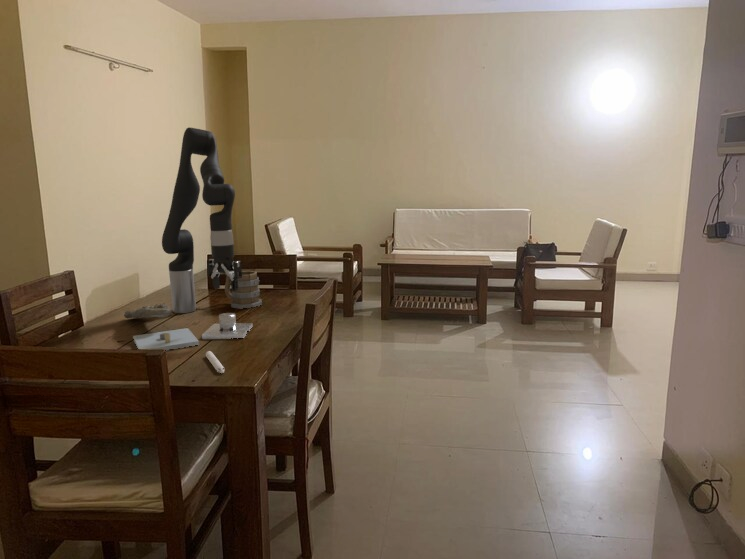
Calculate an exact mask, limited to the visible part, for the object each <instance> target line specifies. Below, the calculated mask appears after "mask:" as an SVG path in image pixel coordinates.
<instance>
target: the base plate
mask: <svg viewBox="0 0 745 559" xmlns="http://www.w3.org/2000/svg"><path fill="white" fill-rule="evenodd" d="M132 338H133V339H134V340H133V343H134V344H136V345H135V346H137V347H136V348H138V349H165V350H166V351H170V350H169V349H174V350H179V349H178V348H180V349H185V348H184V347H186V348H190V347H189V346H192V347H196V346H195V345H198V346H200V341H199V340H198V338H197V337H196V336H195V335H194V333H193V332H192V331H191V329H189V328H188V327H186V328H179V329H173V330H172V329H171V330H165V331H164V330H163V331H158V332H152V333H145V334H138V335H132ZM138 349H137V350H138ZM166 351H165V352H166Z"/></svg>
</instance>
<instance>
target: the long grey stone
mask: <svg viewBox="0 0 745 559" xmlns="http://www.w3.org/2000/svg"><path fill="white" fill-rule="evenodd" d="M171 308H172V307H170V306H169V305H168V304H167V303H166V302H164V303H159V304H157V303H155V305H144V306H142V307H140V308H137V309H135V310H126V311H125V312H124V318H126V319H132V318H133V319H135V318H137V319H139V318H140V319H144V318H145V319H146V318H148V319H150V318H153V317H154V318H161V319H164V318H167V317H169V316H171V315H172V309H171Z"/></svg>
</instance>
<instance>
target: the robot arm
mask: <svg viewBox="0 0 745 559" xmlns="http://www.w3.org/2000/svg"><path fill="white" fill-rule="evenodd" d="M216 139H217V138H216V136H215V134H214V133H213V132H212V131H209V130H206V129H200V128H195V127H189V126H188V127H187V128H185V130H184V133H183V136H182V143H181V151H180V158H179V163H178V164H179V166H178V170H177V174H176V180H175V184H174V189H173V194H172V199H171V205H170V209H169V212H168V217H167V220H166V224H165V226H164V229H163V234H162V237H161V246H162V250H163V252H164V253H166V254H168V255H174V254H175V255H176V254H177V256H176V258H174V259H173V260H172V261H170V262H169V263H168V274H169V286H170V296H171V298H170V299H171V306H172V307H171V308H172V309H171V311H172V313H174V314H186V313H192V312H195V311H196V310H197V303H196V302H197V301H196V290H195V279H194V278H195V277H194V261H195V255H194V254H195V251H194V248H195V247H194V246H195V245H194V237H193V234H192V233H191V231H190V230H188V229H181V228H182V226H183V224H184V223H185V221H186V220H187V218H188V217H189V216H190V215H191V213H193V211H194V209H195V208H196V207H197V204H198V201H199V197H200V191H201V186H200V183H199V180H198V178H197V176H196V174H195V172H194V168H193V166H192V155H198V156H202V157H203V156H206V158H205V159H204V160H202V163H201V165H200V168H199V169H200V170H199V171H200V176H201V179H202V183H203V187H202V188H203V189H202V194H201V195H202V196H201V197H202V201H203V203H205V204H206V205H208V206H223V208H222V210H220V211H217V212H212V213H211V214H210V215H209V229H210V235H209V236H210V248H211V249H210V250H211V257H212V258H209V259H207V260H206V271H207V272H206V275H207V277H209V278H210V277H211V279H212V286H213V289H214V290H218V289H220V288H221V284H220V275H221V273H226V274H227V275H228V276H229V277H230V279H231V280H232V281H231V285H230V290H231V292H232V291H237V290H238V279H240V278H242V271H243V270H242V263H241V260H236V261H234V257H235V246H234V242H235V241H234V235H233V234H234V233H233V229H232V228H233V226H232V224H233V223H232V214H233V205H234V202H235V197H236V193H235V192H236V191H235V189H234V187H233V185H232V184H230V183H225V177H224V175H223V172H222V169H221V167H220V161H219V153H218V145H217V140H216ZM238 274H239V275H238ZM233 276H234V277H233Z"/></svg>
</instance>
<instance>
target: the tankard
mask: <svg viewBox="0 0 745 559" xmlns="http://www.w3.org/2000/svg"><path fill="white" fill-rule="evenodd" d="M220 275H225V283H224V292H225V296H226V297H227V299H229V300H231V302H230V308H234V309H238V310H244V309H243V308H247V309H252V308H251V307H255V308H257V307H256V306H258V307H261V306H262V304H263V303H262V302H263V301H262V298H259V297H260V293H261V291H260V288H259V287H258V286H259V285H260V280H259V276H258V273H257V271H256V270H255V271H253V270H242V278H240V279H238V290H237V291H232V290H231V281H232V280H231V279H230V277H229V276H228V275H227V274H226V273H220ZM238 275H239V274H238ZM233 277H234V276H233ZM260 305H261V306H260Z"/></svg>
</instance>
